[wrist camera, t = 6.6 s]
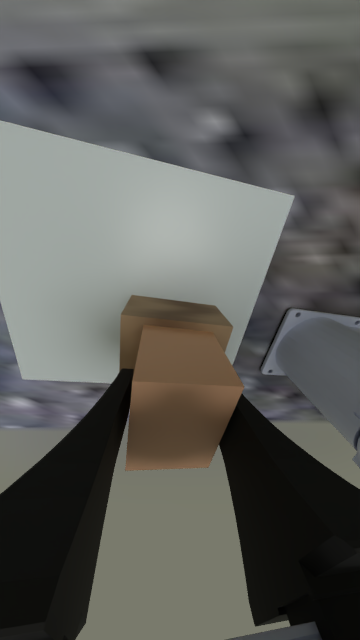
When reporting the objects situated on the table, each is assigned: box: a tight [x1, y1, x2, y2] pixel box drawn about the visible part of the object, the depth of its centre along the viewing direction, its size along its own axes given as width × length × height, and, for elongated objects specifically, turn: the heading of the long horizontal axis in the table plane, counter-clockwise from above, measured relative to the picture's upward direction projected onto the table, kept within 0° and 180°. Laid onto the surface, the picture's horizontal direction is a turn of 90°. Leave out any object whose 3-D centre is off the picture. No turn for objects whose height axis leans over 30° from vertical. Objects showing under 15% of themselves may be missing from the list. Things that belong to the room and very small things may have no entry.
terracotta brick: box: [125, 325, 244, 471], centre depth 10 cm, size 4×6×4 cm
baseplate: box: [0, 120, 295, 383], centre depth 14 cm, size 20×18×1 cm
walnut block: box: [119, 295, 233, 375], centre depth 13 cm, size 7×7×4 cm
